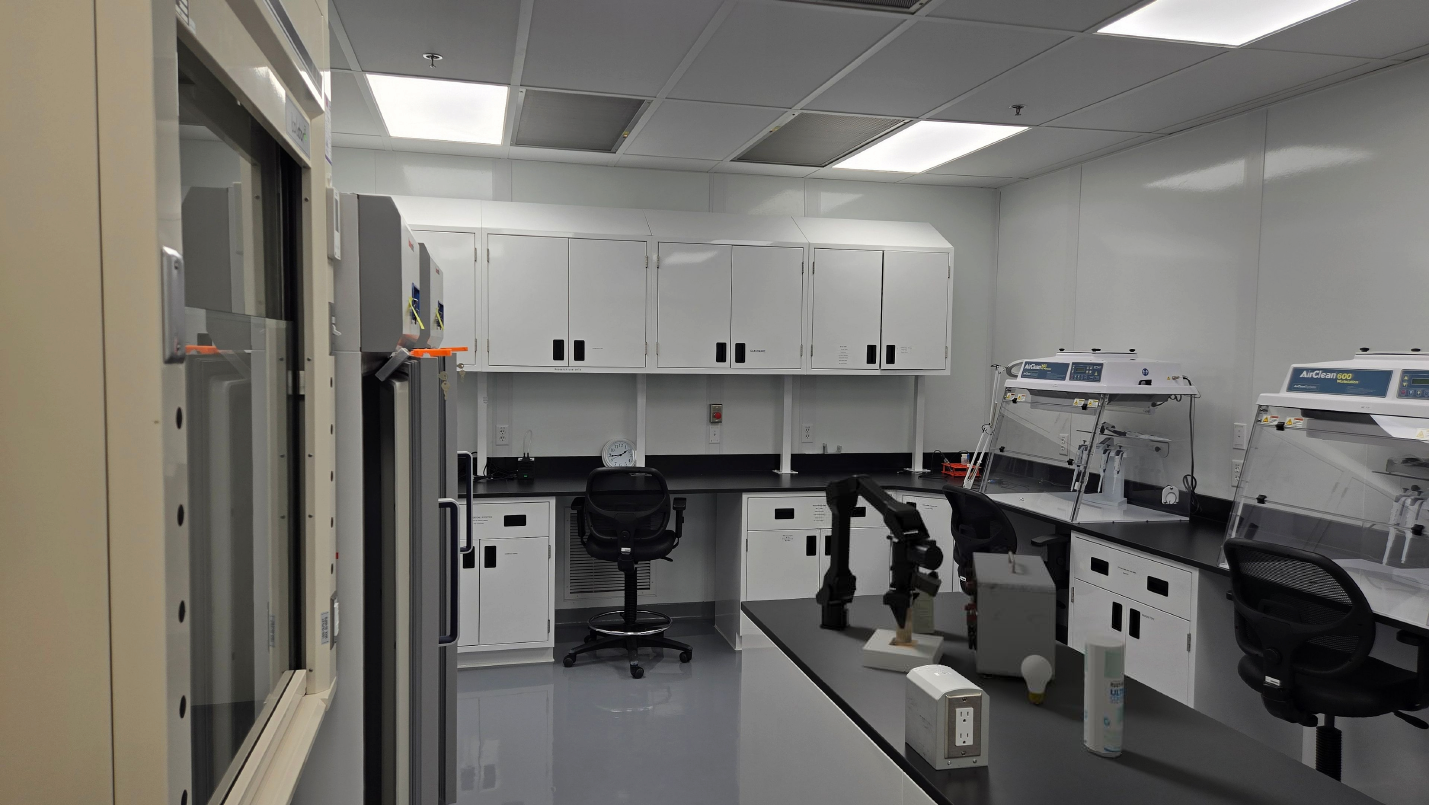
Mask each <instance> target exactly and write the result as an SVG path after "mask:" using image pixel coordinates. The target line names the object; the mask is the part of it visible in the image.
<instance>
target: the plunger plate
mask: <svg viewBox="0 0 1429 805" xmlns="http://www.w3.org/2000/svg"><path fill="white" fill-rule="evenodd" d="M894 646H899V647H907V648H915V647H914V646H906V645H898V644H894Z"/></svg>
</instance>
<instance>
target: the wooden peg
mask: <svg viewBox="0 0 1429 805" xmlns="http://www.w3.org/2000/svg"><path fill="white" fill-rule="evenodd" d="M895 623H896V624H895V627H896V628H895V631H896V641H897V642H899V643H911V642H912V606H911V607H909V608H908V613H907V618H906V624H905V628H904V629H900V628H899V626H898V623H897V621H896V620H895Z"/></svg>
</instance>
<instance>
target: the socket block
mask: <svg viewBox="0 0 1429 805" xmlns="http://www.w3.org/2000/svg"><path fill="white" fill-rule="evenodd" d="M894 644H898V645H906V646H914V647H915V648H907V647H899V646H894ZM861 651H862V652H861V653H862V655H861V656H862V658H861V659H862V660H861V661H862V667H869V668H875V669H882V670H889V671H895V672H903V673H909V672H908V671H910V670H911V669H912V668H914V667H918V666H922V665H927V664H938V665H939V663H940V661H941V659H942V657H943V655H944V636H938V635H930V634H925V633H912V642H911V643H899V642H897V641H896V630H890V629H882V628H877V629H876V631H875V632H873V635H871V636H870V638H869V640H868V641H867V642H866V644H865V645H864V646H863V647H862V650H861ZM942 654H943V655H942ZM941 656H942V657H941ZM940 658H941V659H940ZM939 660H940V661H939ZM938 661H939V662H938ZM904 671H906V672H904Z"/></svg>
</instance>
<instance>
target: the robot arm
mask: <svg viewBox="0 0 1429 805" xmlns="http://www.w3.org/2000/svg"><path fill="white" fill-rule="evenodd" d="M859 496H860V497H862V498H863V499H864V500H865V501H866V502H867V503H868V504H869V505H870V506H872V508H874V509H875V510H876V511H878V513H879V514H880V515H881V516H882V518H883V519H882V520H883V523H884V525H885V526H886V527H887V528H888V529H889V531H890V533H889V534H887V535H886V536H885V537H886V538H885V539H886V540H887V541H891V565H890V566H889V571H890V572H891V582H890V583H889V589H888V590H887V591H885V593H884V594H883V595H882V605H884V606H889V608H890V610H891V612H892V614H893V617H894V619H895V622H896V621H897V623H898V626H899V628H900V629H904V628H905V624H906V618H907V613H908V608H909V607H911V606H912V605H913V604H914V600H915V599H916V598H918V597H919V595H920V593H916V592H914V591H916V588H917V589H918V590H920V591H923V592H925V593H927V594H928V595H929V596H932V597H933V598H935V597H936V596H937V594H938V593H939V590H940V587H941V585H942V583H943V581H942V579H940V578H939V577H940V576H939V572H938V571H936V570H939V568H940V567H941V565H943V562H944V553H943V550H942V549H941V548H940V546H938V545H937V540H936V539H933V538H932V539H930V538H931V536H930V533H929V529H928V527H927V526H926V524H925V521H924V520H923V517H922V514H921V512H920V511H919V510H918V509H917V508H916V507H914V506H912V505H910V504H908V503H905V502H902V501H899V500H897V499H895V498H894V497H893V496H892V495H890V494H889V493H888V492H887V491H886V490H884V488H882V487H881V486H880V485H879V484H877V483H876V482H875V481H874V480H873V479H872V477H871V476H870V475H869V474H867V473H865V474H853V475H851V476H849V477H847V478H844V479H840V480H834V481H833V480H831V481H829V483H827V485H826V486H825V501H826V505H827V507H828V509H829V510H830V513H831V526H830V527H831V529H830V530H831V531H830V535H831V536H830V558H829V560H830V561H829V562H830V563H829V567H828V569H827V570H826V572H825V574H824V575H823V579H822V580H823V582H822V586H821V587H820V588H819V590H818V591H817V593H816V594H815V601H816V604H818V605H820V606H821V623H820V624H819V628H820V629H821V628H823V629H829V630H830V629H831V630H838V631H844V629H846V627H847V626H848V625H849V624H850V609H849V608H848V604H852V603H853V600H854V597H855V594H856V591H857V580H858V579H857V576H856V575H855V574H853V572H852V571H851V569H850V549H851V548H850V547H851V525H852V524H851V522H852V521H851V519H852V513H853V512H854V510H855V508H856V507H857V505H858V502H859ZM920 568H922V569H925V570H928V571H930V572H928V573H927V572H922V571H920Z"/></svg>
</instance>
